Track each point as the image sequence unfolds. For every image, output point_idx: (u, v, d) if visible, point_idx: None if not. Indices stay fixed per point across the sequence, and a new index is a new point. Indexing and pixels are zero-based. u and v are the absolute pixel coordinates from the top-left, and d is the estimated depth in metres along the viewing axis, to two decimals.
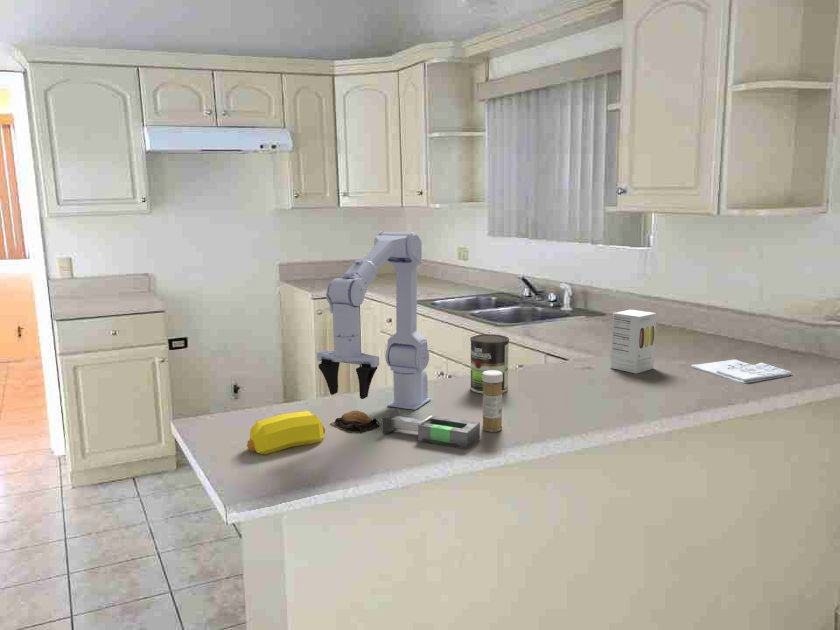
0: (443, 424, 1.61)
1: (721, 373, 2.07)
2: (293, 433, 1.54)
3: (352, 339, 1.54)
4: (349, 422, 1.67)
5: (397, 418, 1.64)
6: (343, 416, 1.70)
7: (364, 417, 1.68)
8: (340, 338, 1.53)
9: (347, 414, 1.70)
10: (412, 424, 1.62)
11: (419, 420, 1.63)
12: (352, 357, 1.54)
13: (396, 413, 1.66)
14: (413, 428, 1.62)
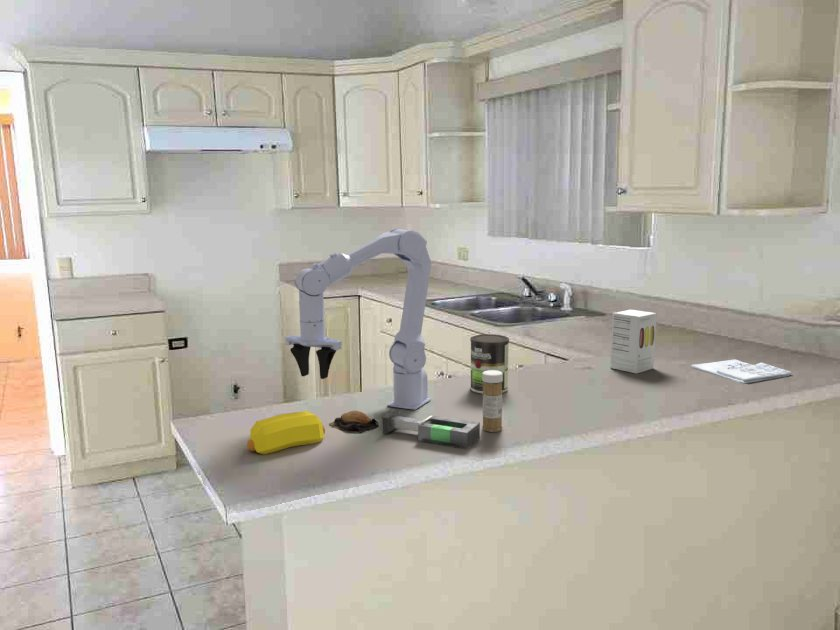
0: (443, 424, 1.61)
1: (721, 373, 2.07)
2: (293, 433, 1.55)
3: (316, 324, 1.68)
4: (348, 422, 1.67)
5: (397, 418, 1.64)
6: (342, 416, 1.69)
7: (363, 417, 1.68)
8: (305, 323, 1.68)
9: (346, 414, 1.69)
10: (412, 424, 1.62)
11: (419, 420, 1.63)
12: (317, 341, 1.68)
13: (396, 413, 1.66)
14: (413, 428, 1.62)
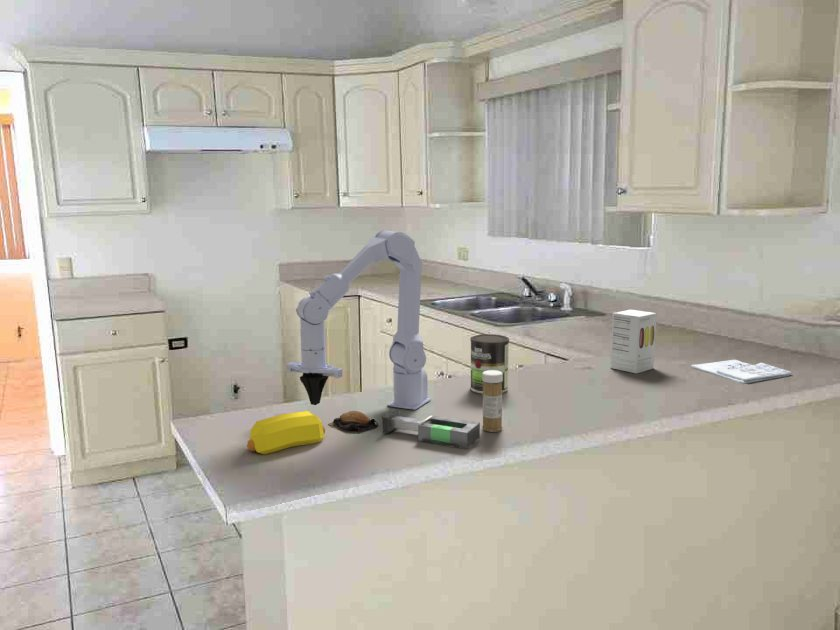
0: (443, 424, 1.61)
1: (721, 373, 2.07)
2: (293, 433, 1.55)
3: (317, 352, 1.69)
4: (347, 422, 1.67)
5: (397, 418, 1.64)
6: (341, 416, 1.69)
7: (362, 417, 1.68)
8: (307, 351, 1.69)
9: (345, 414, 1.69)
10: (412, 424, 1.62)
11: (419, 420, 1.63)
12: (317, 369, 1.70)
13: (396, 413, 1.66)
14: (413, 428, 1.62)
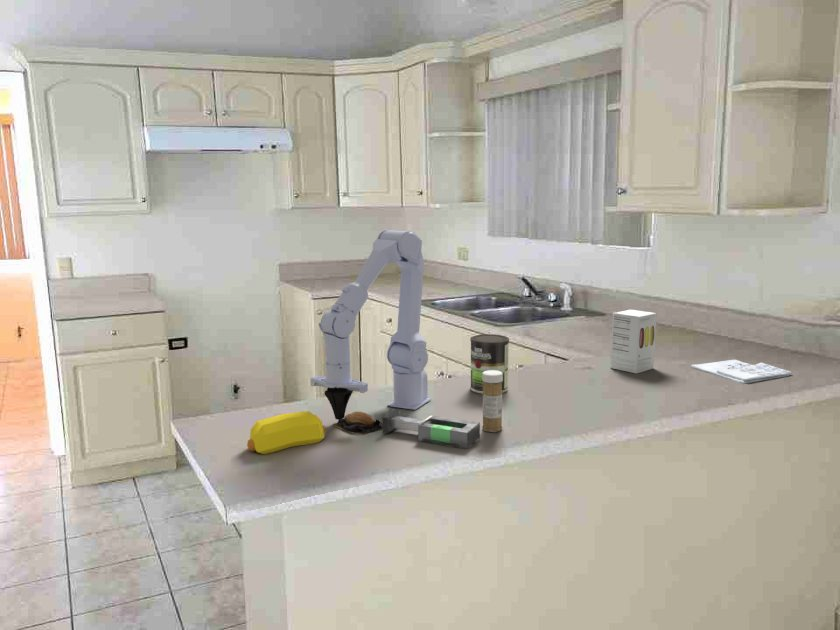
0: (443, 424, 1.61)
1: (721, 373, 2.07)
2: (293, 433, 1.55)
3: (342, 367, 1.67)
4: (352, 423, 1.66)
5: (397, 418, 1.64)
6: (346, 417, 1.69)
7: (366, 418, 1.67)
8: (331, 366, 1.67)
9: (350, 415, 1.69)
10: (412, 424, 1.62)
11: (419, 420, 1.63)
12: (342, 383, 1.67)
13: (396, 413, 1.66)
14: (413, 428, 1.62)
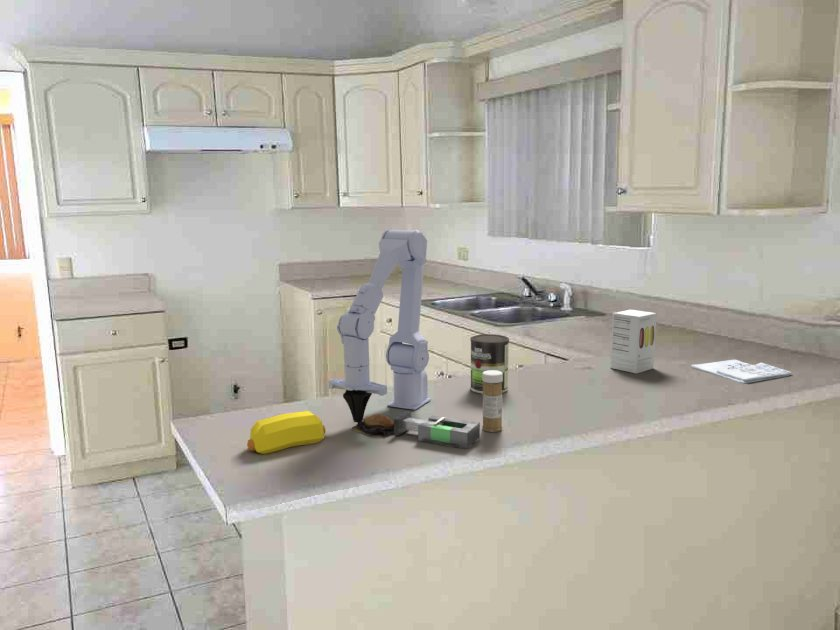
0: None
1: (721, 373, 2.07)
2: (293, 433, 1.55)
3: (362, 369, 1.65)
4: (372, 426, 1.64)
5: (408, 420, 1.63)
6: (365, 420, 1.66)
7: (386, 421, 1.65)
8: (350, 368, 1.64)
9: (369, 418, 1.66)
10: None
11: (431, 422, 1.61)
12: (362, 386, 1.65)
13: (407, 415, 1.65)
14: None
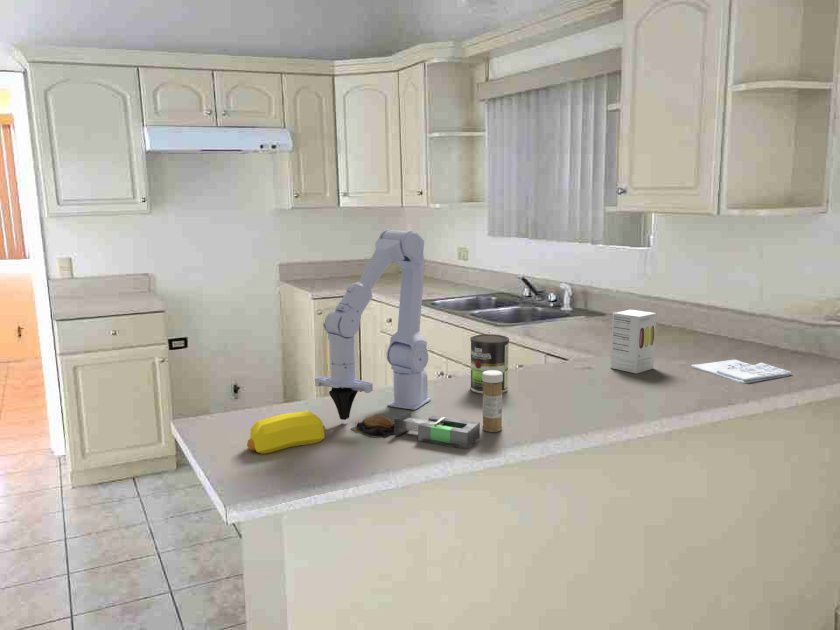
0: None
1: (721, 373, 2.07)
2: (293, 433, 1.55)
3: (347, 367, 1.66)
4: (372, 427, 1.64)
5: (409, 420, 1.63)
6: (365, 420, 1.66)
7: (386, 421, 1.65)
8: (336, 366, 1.66)
9: (369, 418, 1.66)
10: None
11: (431, 422, 1.61)
12: (347, 383, 1.67)
13: (408, 415, 1.65)
14: None
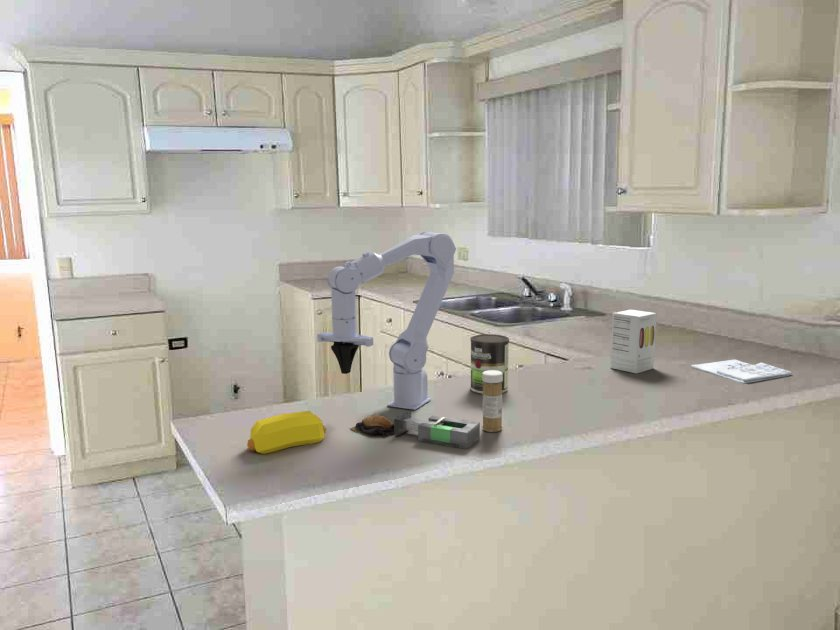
0: None
1: (721, 373, 2.07)
2: (293, 433, 1.55)
3: (349, 321, 1.71)
4: (371, 427, 1.64)
5: (409, 420, 1.63)
6: (364, 421, 1.66)
7: (385, 422, 1.65)
8: (338, 320, 1.71)
9: (368, 419, 1.66)
10: None
11: (431, 422, 1.61)
12: (349, 337, 1.71)
13: (408, 415, 1.65)
14: None
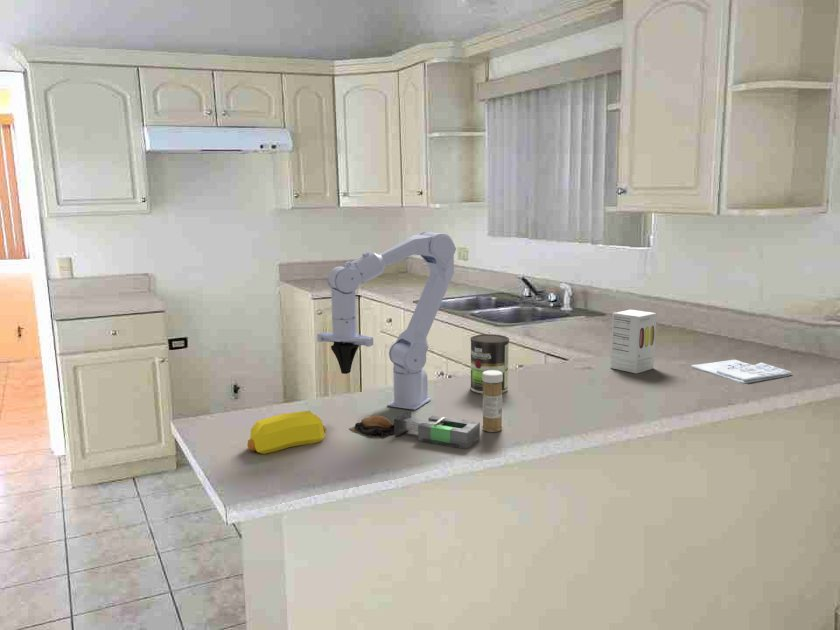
0: None
1: (721, 373, 2.07)
2: (293, 433, 1.55)
3: (349, 321, 1.71)
4: (370, 427, 1.64)
5: (409, 420, 1.63)
6: (363, 421, 1.66)
7: (384, 422, 1.65)
8: (338, 320, 1.71)
9: (367, 419, 1.66)
10: None
11: (431, 422, 1.61)
12: (349, 337, 1.71)
13: (408, 415, 1.65)
14: None
